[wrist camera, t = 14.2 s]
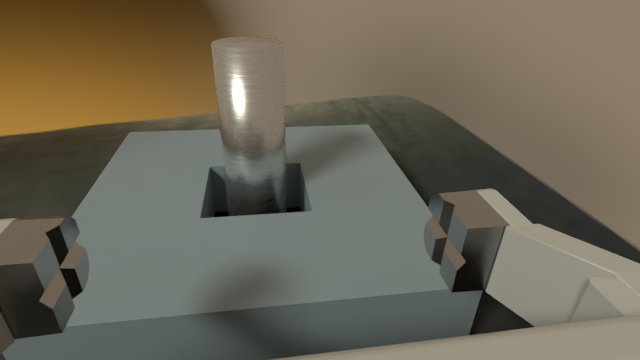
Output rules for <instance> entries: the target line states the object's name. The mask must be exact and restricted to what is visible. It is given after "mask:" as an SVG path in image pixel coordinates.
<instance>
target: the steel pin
mask: <svg viewBox="0 0 640 360" xmlns="http://www.w3.org/2000/svg"><path fill="white" fill-rule="evenodd" d="M211 46H212V56H213V66H214V76H215V85H216V95H217V104H218V115H219V125H220V135H221V145H222V155H223V164H224V174H225V184H226V194H227V204H228V214H229V216H243V215H259V214H275V213H287V198H286V136H285V74H284V43H283V42H282V41H280V40H277V39H271V38H263V37H232V38H224V39H219V40H215V41H213V42H212V43H211Z"/></svg>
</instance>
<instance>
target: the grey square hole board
mask: <svg viewBox="0 0 640 360" xmlns="http://www.w3.org/2000/svg"><path fill="white" fill-rule="evenodd" d="M285 136H286V198H287V208H292V207H300V210H301V212H291V213H275V214H259V215H243V216H227V217H215V212H226V211H228V204H227V194H226V184H225V174H224V164H223V155H222V145H221V135H220V129H212V130H180V131H148V132H129V134H128V135H127V137H126V138H125V140H124V141H123V142H122V144H121V145H120V147H119V148H118V150H117V151H116V153H115V154H114V156H113V157H112V159H111V160H110V162H109V163H108V164H107V166H106V167H105V169H104V170H103V172H102V173H101V175H100V176H99V178H98V179H97V181H96V182H95V184H94V185H93V186H92V188H91V189H90V191H89V192H88V194H87V195H86V197H85V198H84V200H83V201H82V203H81V204H80V205H79V207H78V208H77V210H76V211H75V213H74V214H73V216H72V218H74V219H75V220H76V223H77V225H78V228H79V231H80V234H79V235H78V237H77V239H76V242H77V243H78V244H80V245H81V246H82V247H84V248H85V249H86V252H87V255H88V258H89V268H90V269H89V276H88V282H87V284H86V286H85V288H84V290H83V292H82V293H80V294H79V295H77V296H76V297H75V298H73V299H72V300H73V303H74V306H75V309H74V311H73V313H72V315H71V317H70V319H69V321H68V323H67V325H66V327H65V329H64V331H63V333H59V334H51V335H44V336H36V337H28V338H20V339H15V342H14V343H13V344H12V345H10V346H9V347H8V348H7V349H6V350H5V351H3V352H2V353H3V355H4V357H5V359H6V360H270V359H278V358H286V357H295V356H303V355H311V354H319V353H328V352H336V351H344V350H352V349H361V348H369V347H377V346H385V345H394V344H402V343H410V342H418V341H426V340H435V339H443V338H451V337H459V336H467V335H469V333H470V330H471V327H472V323H473V320H474V317H475V314H476V310H477V307H478V304H479V301H480V297H481V294H482V291H483V290H480V291H467V292H454V293H451V291H450V290H449V288H448V286H447V285H446V283H445V282H444V280H443V278H442V277H441V275H440V274H439V271H440V265H439V264H437V263H435V262H434V261H432V260H431V259H430V257H429V255H428V254H427V251H426V248H425V244H424V229H425V223H426V222H427V221H428V220H429V219H430V218H431V217H432V216H433V215H432V214H431V212H430V211H429V209H428V207H427V205H426V204H425V203H424V201H423V200H422V198H421V197H420V196H419V194H418V193H417V191H416V190H415V189H414V187H413V186H412V184H411V183H410V182H409V180H408V179H407V178H406V176H405V175H404V173H403V172H402V171H401V169H400V168H399V166H398V165H397V164H396V162H395V161H394V159H393V158H392V157H391V155H390V154H389V153H388V151H387V150H386V148H385V147H384V146H383V144H382V143H381V141H380V140H379V139H378V137H377V136H376V134H375V133H374V132H373V130H372V129H371V128H370V126H369V125H342V126H310V127H285Z"/></svg>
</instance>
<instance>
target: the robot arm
mask: <svg viewBox="0 0 640 360" xmlns="http://www.w3.org/2000/svg"><path fill="white" fill-rule="evenodd" d="M428 209H429V211H430V212H431V214H432V215H433V216H432V217H431V218H430V219H429V220H428V221H427V222H426V223H425V229H424V244H425V248H426V251H427V254H428V255H429V257H430V259H431V260H432V261H434V262H435V263H437V264H439V265H440V271H439V274H440V275H441V277H442V278H443V280H444V282H445V283H446V285H447V286H448V288H449V290H450V291H451V293H454V292H467V291H480V290H486V292H487V293H488V294H489V295H491V296H492V297H494V298H495V299H496V300H498V301H499V302H501V303H502V304H504V305H505V306H506V307H508V308H509V309H511V310H512V311H513V312H515V313H516V314H518V315H519V316H520V317H522V318H523V319H525V320H526V321H528V322H529V323H530V324H532V325H533V326H535V327H533V328H525V329H516V330H508V331H500V332H492V333H484V334H475V335H467V336H459V337H451V338H443V339H435V340H426V341H418V342H410V343H402V344H394V345H385V346H377V347H369V348H361V349H352V350H344V351H336V352H328V353H319V354H311V355H303V356H295V357H286V358H278V359H270V360H640V264H639V263H636V262H634V261H631V260H629V259H626V258H624V257H621V256H619V255H616V254H614V253H611V252H609V251H606V250H603V249H601V248H598V247H596V246H593V245H591V244H588V243H586V242H583V241H581V240H578V239H576V238H573V237H571V236H568V235H566V234H563V233H561V232H558V231H556V230H553V229H551V228H548V227H546V226H543V225H540V224H532V223H531V222H530V221H529V220H528V219H527V218H526V217H524V216H523V215H522V214H521V213H520V212H519V211H518V210H517V209H516V208H515V207H514V206H513V205H511V204H510V203H509V202H508V201H507V200H506V199H505V198H504V197H503V196H502V195H501V194H500V193H498V192H497V191H496V190H494V189H481V190H472V191H461V192H450V193H439V194H433V195H432V197H431V199H430V202H429V207H428ZM79 234H80V231H79V228H78V225H77V223H76V220H75V219H74V218H72V217H71V216H58V217H35V218H19V219H17V218H11V219H0V354H1V353H2V352H3V351H5V350H6V349H7V348H8V347H9V346H10V345H12V344H13V343H14V342H15V339H20V338H28V337H36V336H44V335H51V334H59V333H63V331H64V329H65V327H66V325H67V323H68V321H69V319H70V317H71V315H72V313H73V311H74V309H75V306H74V303H73V300H72V299H73V298H75V297H76V296H77V295H79V294H80V293H82V292H83V290H84V288H85V286H86V284H87V282H88V276H89V269H90V268H89V258H88V255H87V252H86V249H85V248H84V247H82V246H81V245H80V244H78V243H77V242H76V239H77V237H78V235H79Z"/></svg>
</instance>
